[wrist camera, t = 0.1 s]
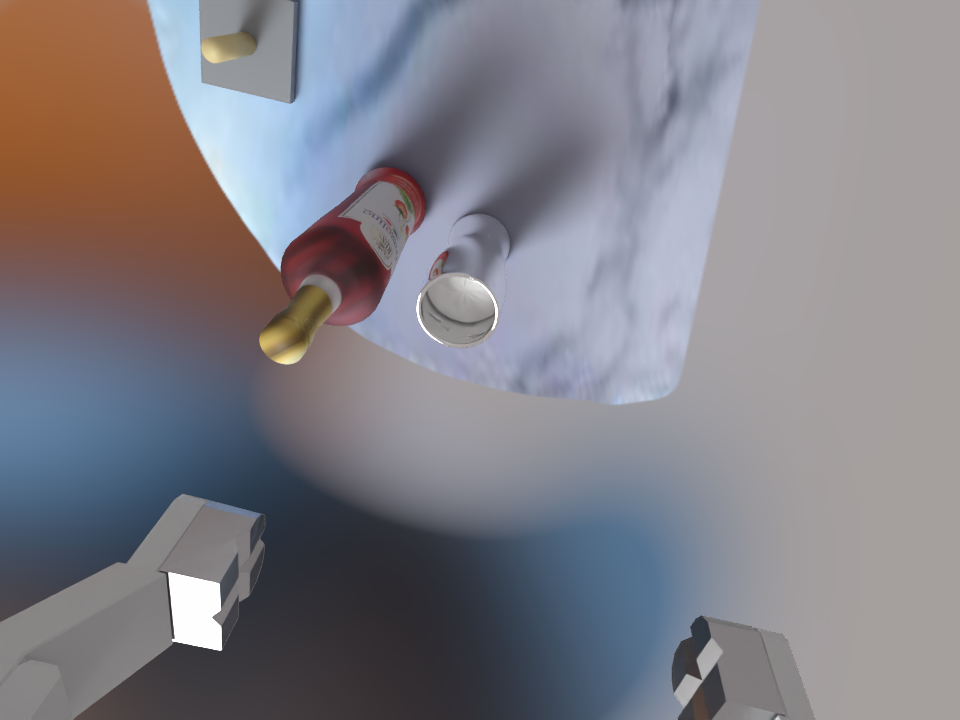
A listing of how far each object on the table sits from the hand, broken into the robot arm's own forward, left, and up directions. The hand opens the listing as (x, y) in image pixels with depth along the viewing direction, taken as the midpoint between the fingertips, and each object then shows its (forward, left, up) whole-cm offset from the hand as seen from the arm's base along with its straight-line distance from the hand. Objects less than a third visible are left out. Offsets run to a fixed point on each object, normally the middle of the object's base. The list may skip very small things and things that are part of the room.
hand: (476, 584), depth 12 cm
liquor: (+11, -12, -50) cm, 53 cm away
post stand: (0, -26, -50) cm, 57 cm away
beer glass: (+13, -3, -50) cm, 52 cm away
